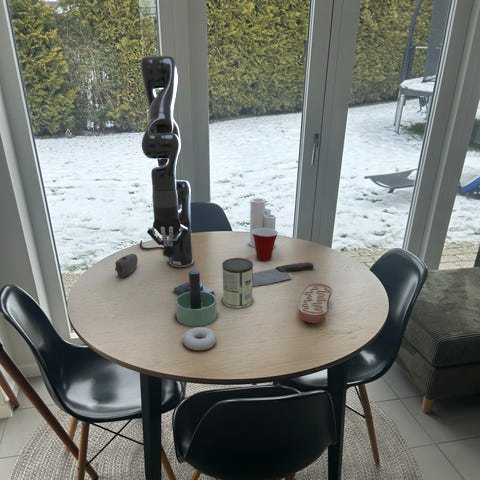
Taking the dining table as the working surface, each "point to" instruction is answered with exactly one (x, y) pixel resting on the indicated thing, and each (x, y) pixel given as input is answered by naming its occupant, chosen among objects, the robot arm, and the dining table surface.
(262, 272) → the cleaver
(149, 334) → the dining table surface
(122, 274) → the perforated stone tool
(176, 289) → the control block
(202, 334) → the donut
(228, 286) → the coffee can
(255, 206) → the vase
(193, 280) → the food processor blade
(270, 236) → the plastic cup
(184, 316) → the processor bowl
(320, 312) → the anatomical model
